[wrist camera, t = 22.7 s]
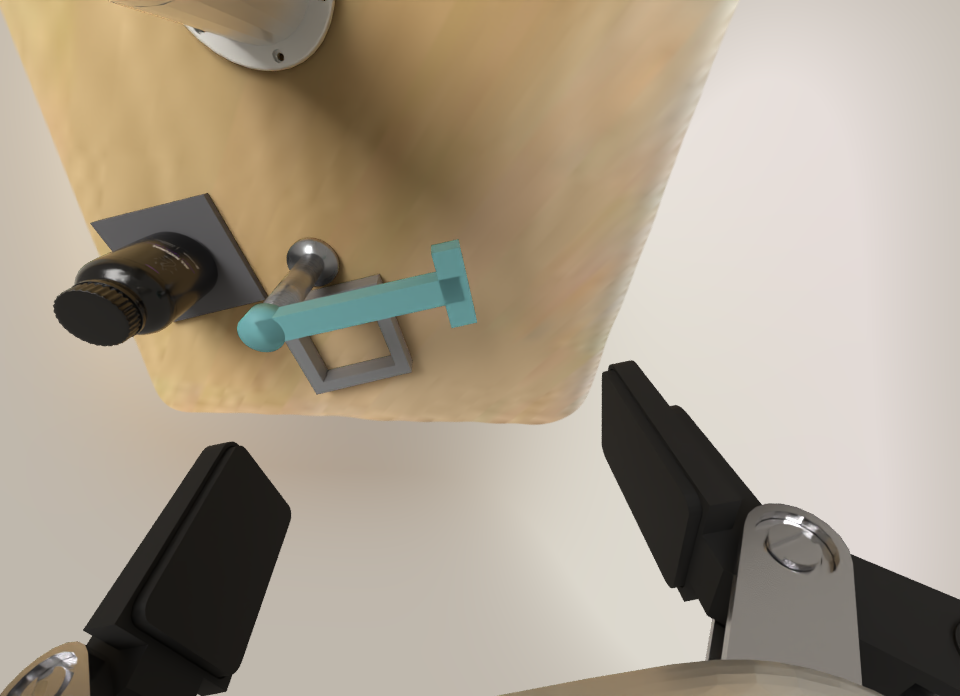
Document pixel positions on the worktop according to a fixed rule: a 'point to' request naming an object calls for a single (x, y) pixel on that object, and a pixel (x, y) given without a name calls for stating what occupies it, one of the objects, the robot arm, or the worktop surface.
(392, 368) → the bottle holder
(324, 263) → the latch post
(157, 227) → the rubber mat
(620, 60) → the worktop surface
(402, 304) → the latch bar
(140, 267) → the supplement bottle
